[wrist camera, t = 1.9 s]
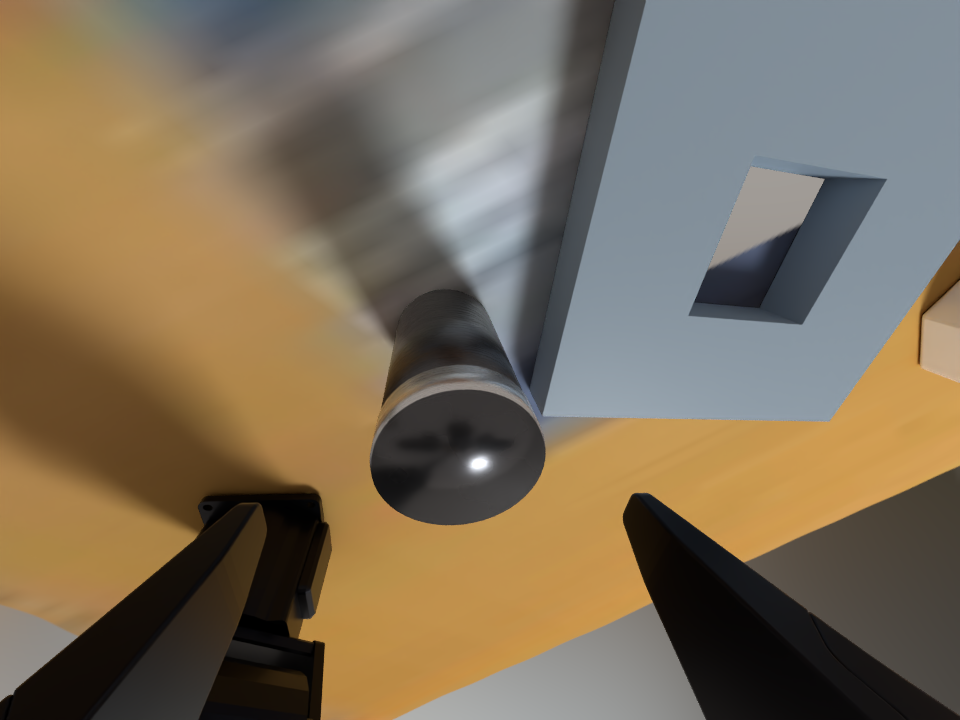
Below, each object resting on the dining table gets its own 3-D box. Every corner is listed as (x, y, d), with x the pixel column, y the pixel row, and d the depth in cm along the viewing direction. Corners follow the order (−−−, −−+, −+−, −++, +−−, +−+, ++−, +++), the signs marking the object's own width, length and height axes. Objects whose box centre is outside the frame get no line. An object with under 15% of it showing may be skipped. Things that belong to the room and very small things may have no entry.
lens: (395, 376, 18) (371, 529, 10) (396, 284, 16) (366, 388, 8) (486, 379, 19) (529, 523, 11) (499, 292, 17) (565, 394, 9)
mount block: (529, 389, 20) (542, 416, 17) (629, -67, 11) (677, -124, 9) (790, 398, 23) (829, 421, 21) (1013, 44, 15) (1116, 21, 12)
